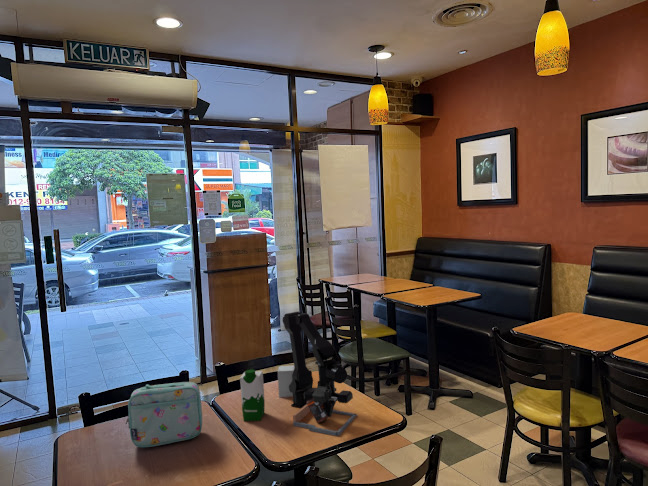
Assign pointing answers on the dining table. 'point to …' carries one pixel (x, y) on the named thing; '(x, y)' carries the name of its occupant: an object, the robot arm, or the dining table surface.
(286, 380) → the supplement box
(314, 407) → the supplement bottle
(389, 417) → the dining table surface
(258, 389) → the milk carton
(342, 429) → the grey flat frame
